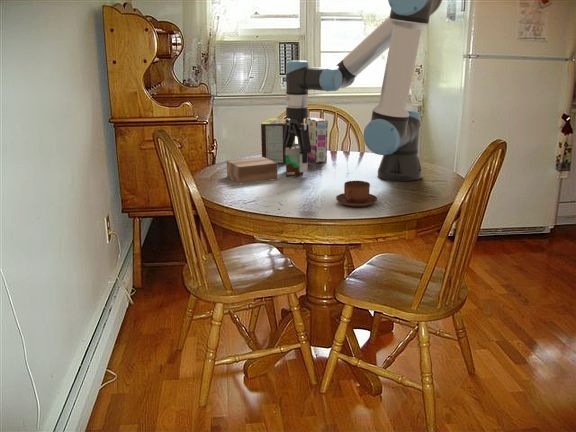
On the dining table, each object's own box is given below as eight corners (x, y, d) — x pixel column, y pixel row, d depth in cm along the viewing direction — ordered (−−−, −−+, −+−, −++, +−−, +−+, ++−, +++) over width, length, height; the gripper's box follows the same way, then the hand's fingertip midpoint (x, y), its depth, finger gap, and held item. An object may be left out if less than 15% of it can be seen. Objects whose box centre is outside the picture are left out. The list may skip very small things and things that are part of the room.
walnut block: (277, 180, 198) (277, 163, 196) (239, 184, 192) (238, 167, 190) (263, 173, 208) (263, 157, 206) (227, 177, 203) (226, 160, 201)
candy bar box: (327, 162, 224) (328, 120, 219) (315, 163, 222) (315, 121, 218) (317, 157, 234) (318, 116, 229) (306, 158, 233) (306, 117, 228)
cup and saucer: (374, 211, 161) (375, 189, 159) (332, 208, 164) (332, 187, 162) (379, 200, 172) (380, 180, 170) (340, 197, 175) (340, 177, 173)
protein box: (295, 156, 236) (295, 118, 232) (287, 164, 222) (287, 123, 217) (270, 155, 238) (270, 117, 234) (261, 163, 224) (260, 123, 219)
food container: (302, 178, 199) (302, 149, 196) (285, 177, 200) (285, 149, 197) (309, 170, 210) (309, 143, 207) (293, 170, 211) (293, 143, 209)
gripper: (273, 103, 208) (274, 162, 214) (301, 111, 187) (301, 176, 194) (292, 102, 211) (292, 161, 217) (322, 110, 190) (320, 174, 197)
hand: (296, 168), depth 206 cm, fingers closed on food container, 11 cm apart
